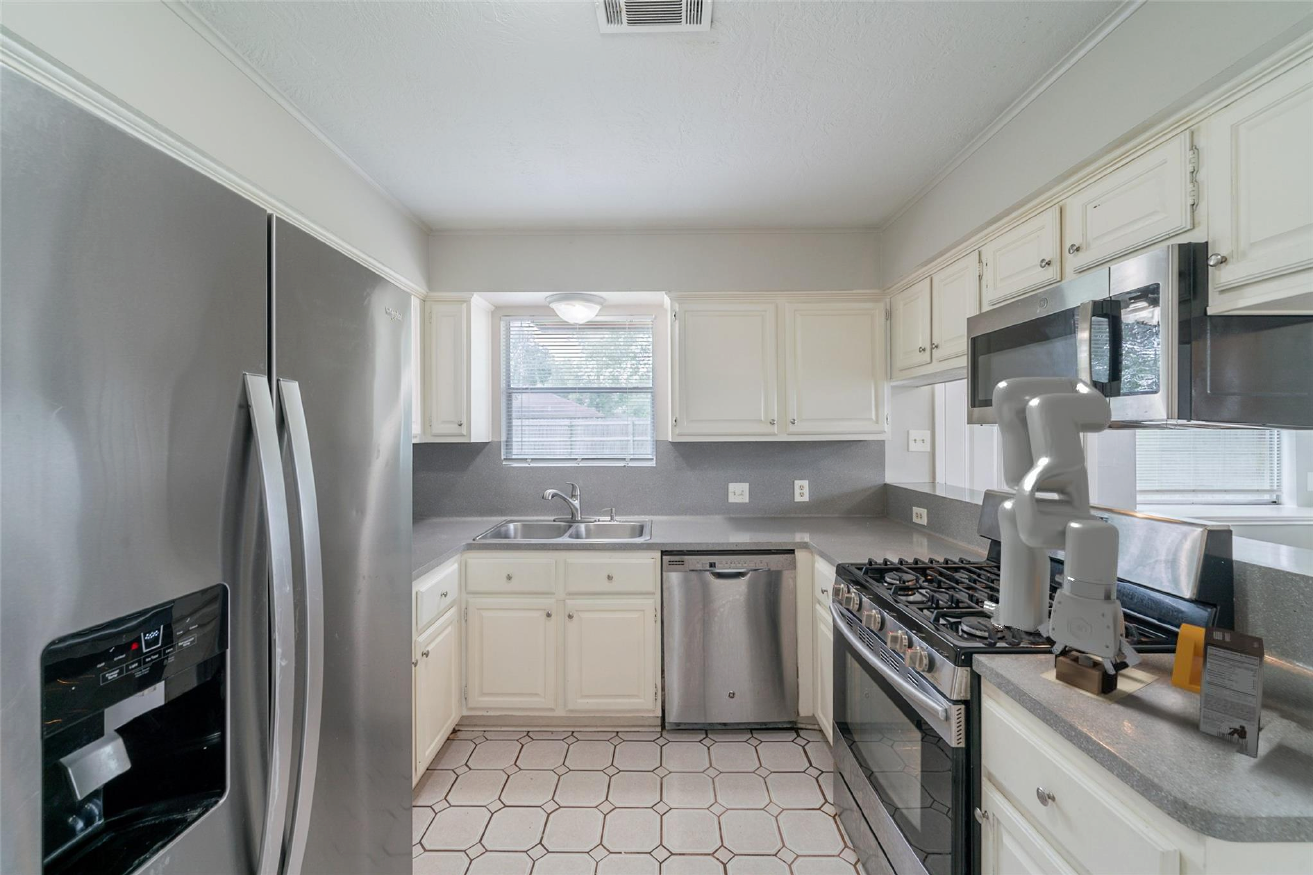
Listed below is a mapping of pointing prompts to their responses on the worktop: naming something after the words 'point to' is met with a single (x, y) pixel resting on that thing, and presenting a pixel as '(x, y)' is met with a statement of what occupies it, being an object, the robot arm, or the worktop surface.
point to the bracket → (1189, 658)
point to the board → (1126, 682)
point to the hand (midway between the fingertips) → (1084, 681)
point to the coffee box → (1232, 687)
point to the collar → (1080, 673)
